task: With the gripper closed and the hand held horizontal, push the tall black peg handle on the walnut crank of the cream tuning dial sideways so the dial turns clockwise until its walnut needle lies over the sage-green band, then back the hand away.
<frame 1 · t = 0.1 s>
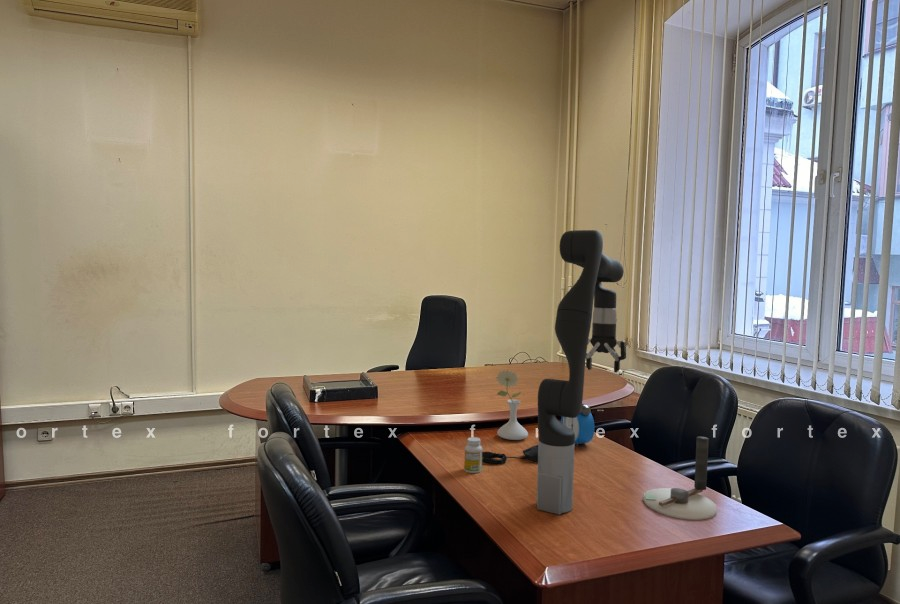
hand: (602, 370, 183), 29 cm above the table, tool pointing down, fingers open, 8 cm apart
dial: (683, 471, 149), point 9 cm above the table, hinge at 0.0°
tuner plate: (679, 504, 148), on the table
computer mouse: (519, 460, 183), on the table
supplement bottle: (473, 470, 171), on the table
alarm clock: (577, 443, 201), on the table
flower in vase: (510, 438, 206), on the table
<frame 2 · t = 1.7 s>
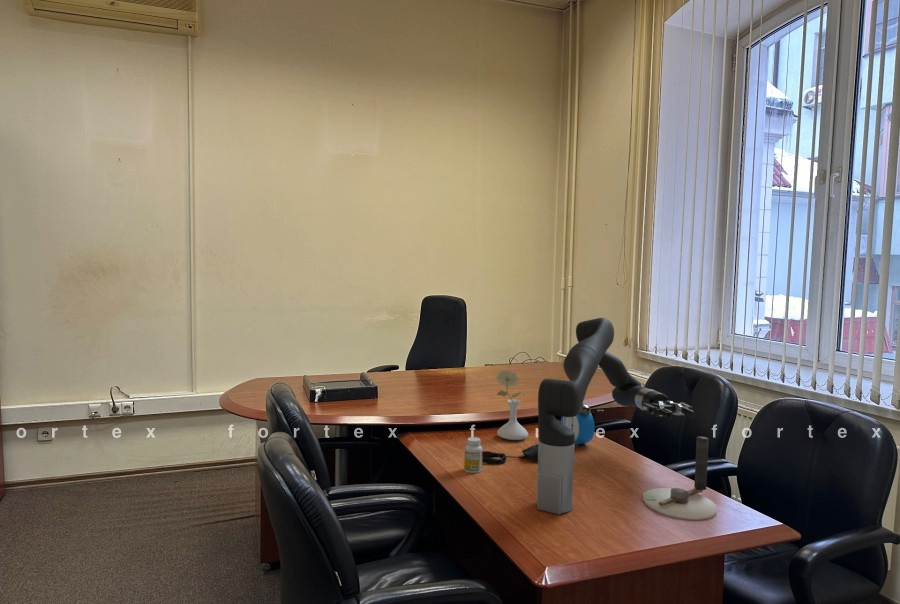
hand: (682, 415, 164), 20 cm above the table, tool horizontal, fingers open, 6 cm apart
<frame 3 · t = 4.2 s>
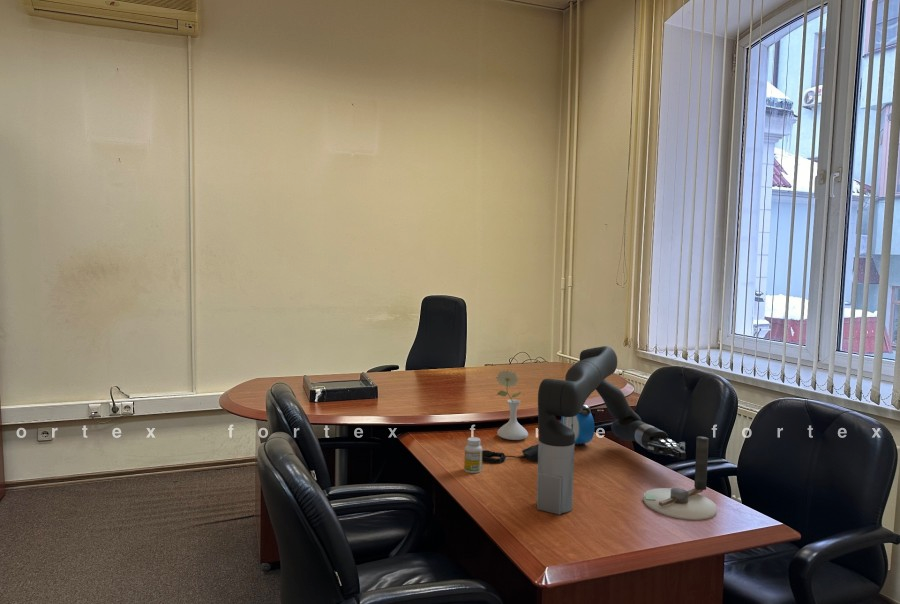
hand: (683, 456, 163), 8 cm above the table, tool horizontal, fingers closed
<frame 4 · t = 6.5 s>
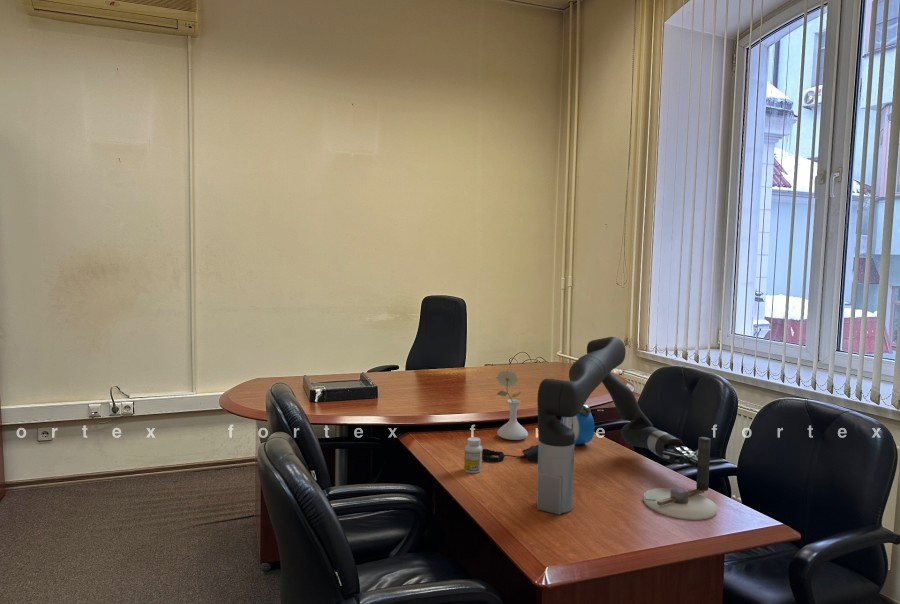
hand: (701, 465, 155), 8 cm above the table, tool horizontal, fingers closed
dial: (684, 471, 149), point 9 cm above the table, hinge at -3.4°, touching gripper
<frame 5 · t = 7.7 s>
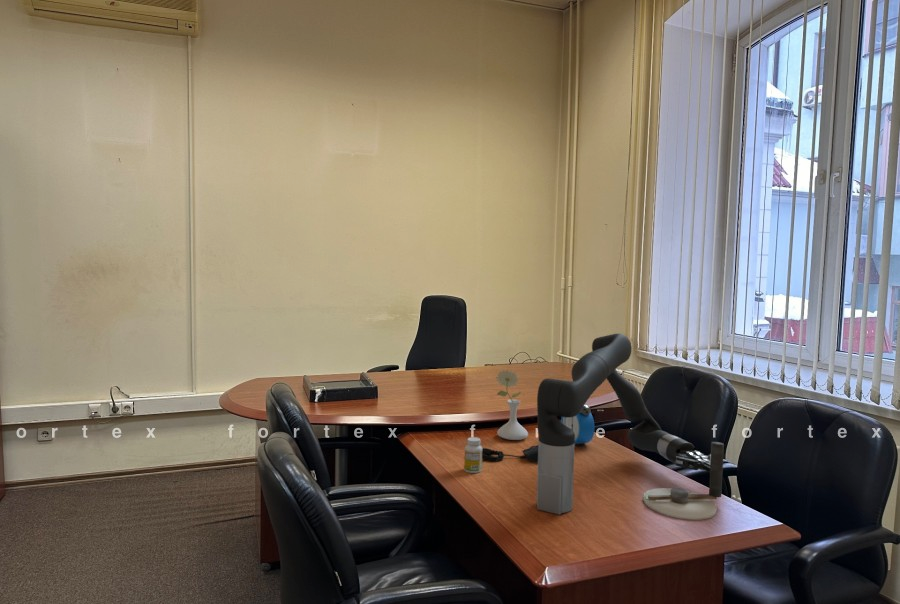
hand: (716, 471, 151), 8 cm above the table, tool horizontal, fingers closed
dial: (686, 472, 148), point 9 cm above the table, hinge at -30.0°, touching gripper
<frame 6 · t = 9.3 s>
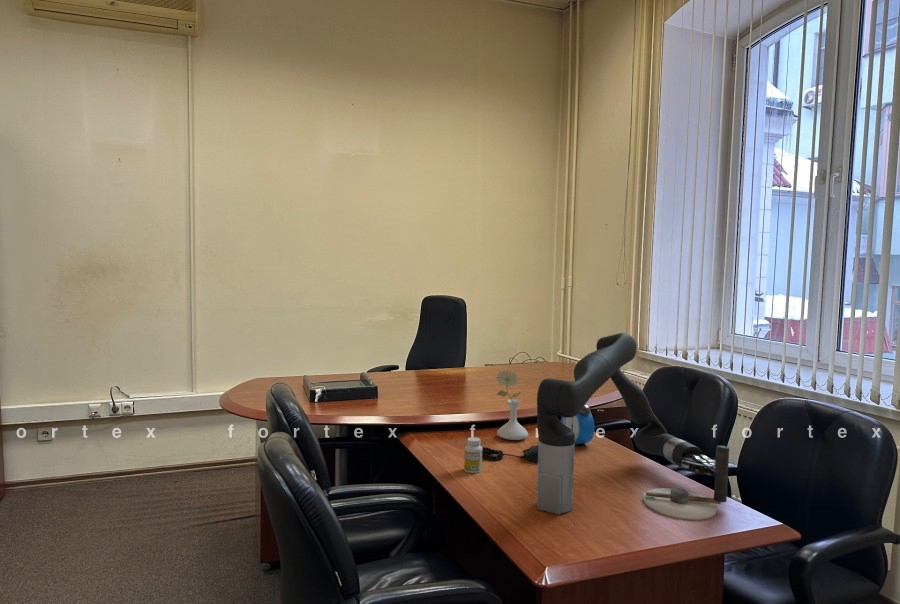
hand: (723, 475, 147), 8 cm above the table, tool horizontal, fingers closed
dial: (686, 472, 148), point 9 cm above the table, hinge at -48.4°, touching gripper
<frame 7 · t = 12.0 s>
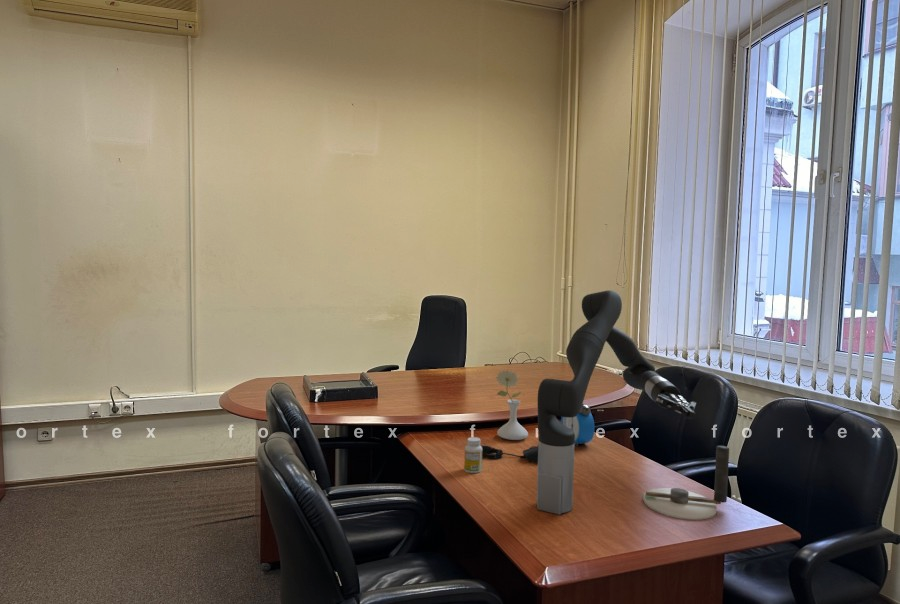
hand: (691, 415, 155), 22 cm above the table, tool horizontal, fingers closed
dial: (686, 472, 148), point 9 cm above the table, hinge at -49.0°
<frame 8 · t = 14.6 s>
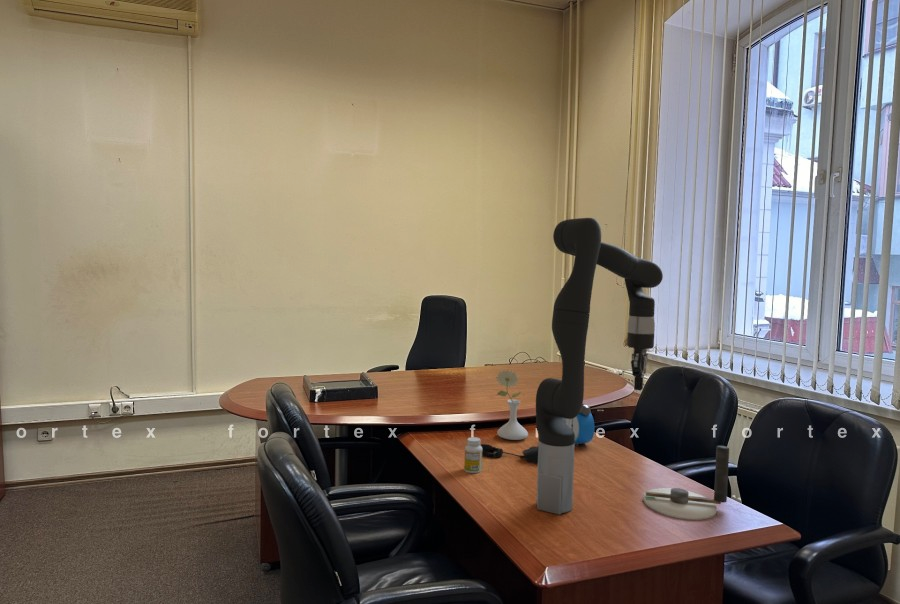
hand: (638, 389, 165), 27 cm above the table, tool pointing down, fingers closed
at the end: dial at -49° (first picture: +0°) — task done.
